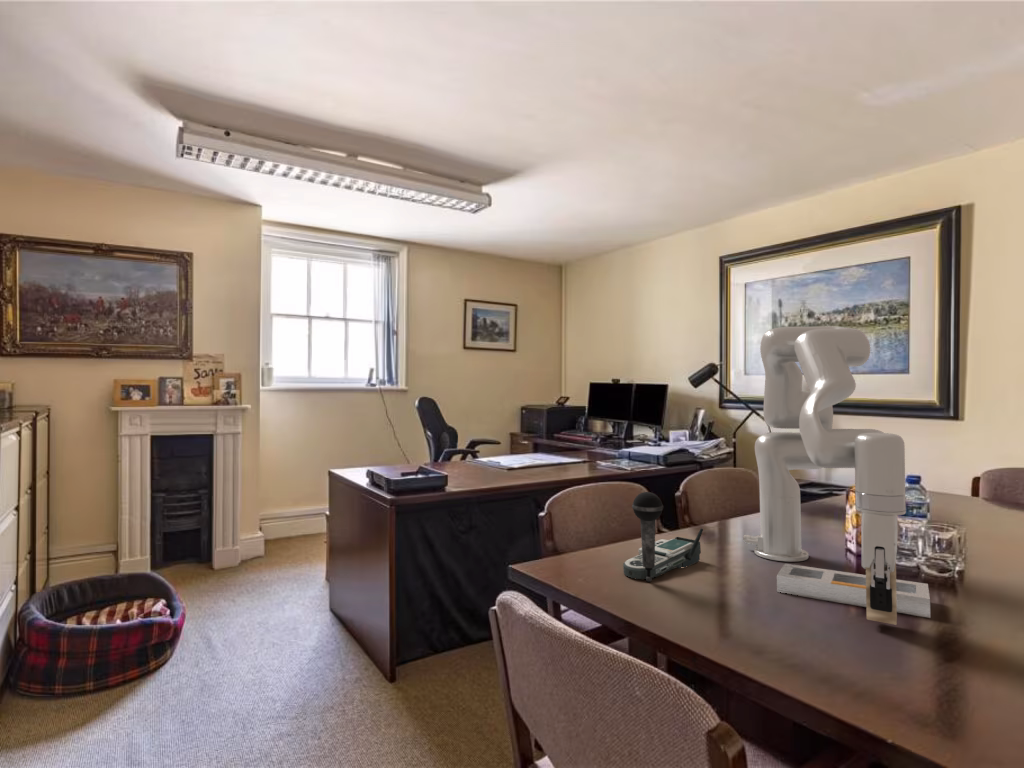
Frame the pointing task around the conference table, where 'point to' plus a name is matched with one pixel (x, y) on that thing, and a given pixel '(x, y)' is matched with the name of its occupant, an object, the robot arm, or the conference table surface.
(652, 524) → the microphone
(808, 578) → the white slotted block
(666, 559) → the communication device
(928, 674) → the conference table surface
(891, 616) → the peg
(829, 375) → the robot arm
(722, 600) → the conference table surface
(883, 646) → the conference table surface
